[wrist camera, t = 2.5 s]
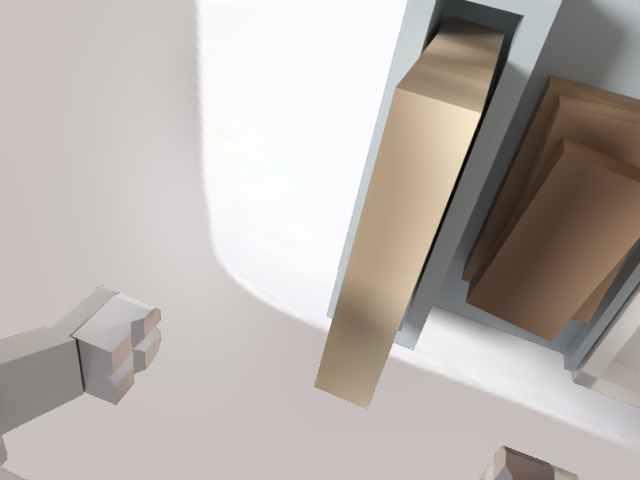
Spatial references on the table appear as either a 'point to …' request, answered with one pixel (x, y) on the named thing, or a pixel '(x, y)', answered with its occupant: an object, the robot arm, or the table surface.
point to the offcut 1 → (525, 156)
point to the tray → (615, 356)
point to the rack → (508, 140)
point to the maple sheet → (406, 201)
